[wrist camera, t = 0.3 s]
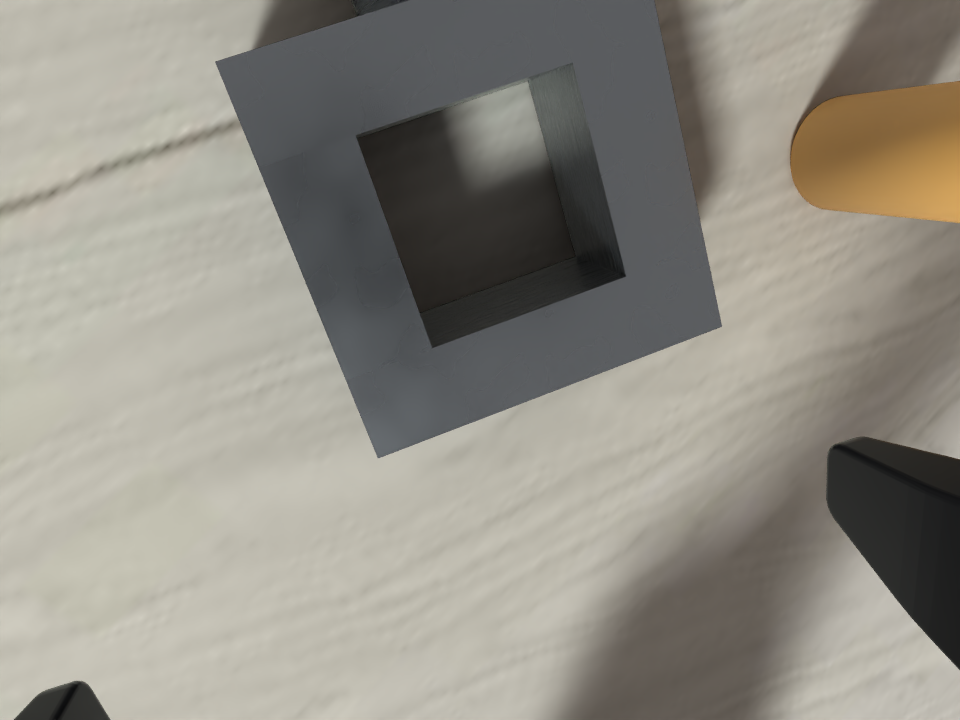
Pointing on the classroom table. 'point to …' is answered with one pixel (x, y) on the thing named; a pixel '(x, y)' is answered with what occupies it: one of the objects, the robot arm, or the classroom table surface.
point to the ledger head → (577, 172)
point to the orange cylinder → (883, 153)
